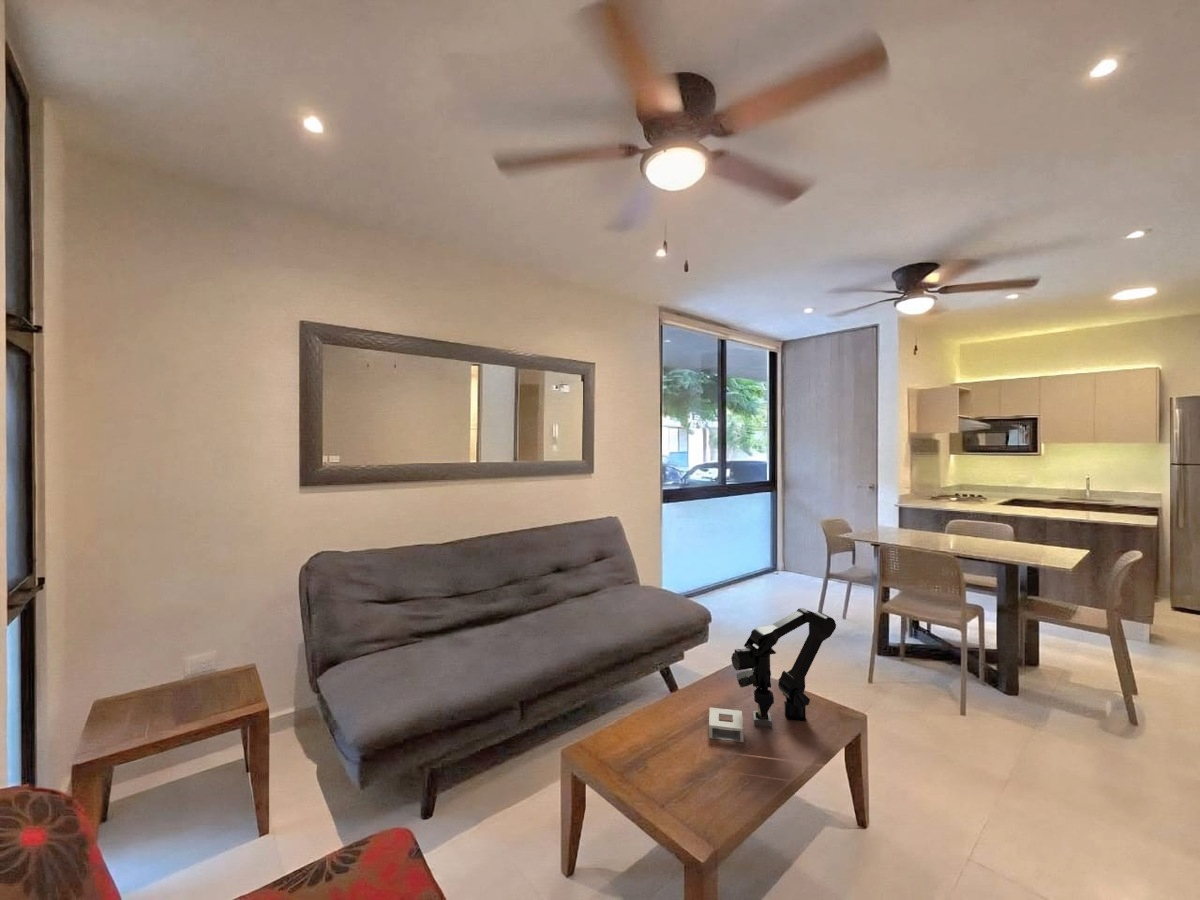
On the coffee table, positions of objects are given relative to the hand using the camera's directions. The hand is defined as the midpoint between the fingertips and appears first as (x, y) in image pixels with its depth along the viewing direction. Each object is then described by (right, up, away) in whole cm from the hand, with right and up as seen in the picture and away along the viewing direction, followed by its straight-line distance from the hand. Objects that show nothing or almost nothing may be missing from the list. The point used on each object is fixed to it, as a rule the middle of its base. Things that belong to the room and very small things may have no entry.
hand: (762, 710), depth 174 cm
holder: (0, -4, 0) cm, 4 cm away
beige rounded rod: (0, -4, 0) cm, 4 cm away
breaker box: (-14, -5, -5) cm, 16 cm away
